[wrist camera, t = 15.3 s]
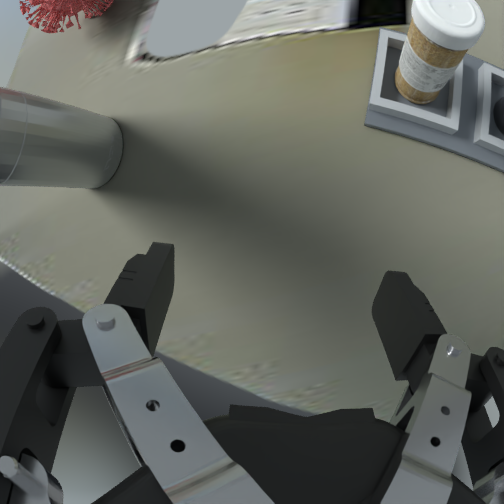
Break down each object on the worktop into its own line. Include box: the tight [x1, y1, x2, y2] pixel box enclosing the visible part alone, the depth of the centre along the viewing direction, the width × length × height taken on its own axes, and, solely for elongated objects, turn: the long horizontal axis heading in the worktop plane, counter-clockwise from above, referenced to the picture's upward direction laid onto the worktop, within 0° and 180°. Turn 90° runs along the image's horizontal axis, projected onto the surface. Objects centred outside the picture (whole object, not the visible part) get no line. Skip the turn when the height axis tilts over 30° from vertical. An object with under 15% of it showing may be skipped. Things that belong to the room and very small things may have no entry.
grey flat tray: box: [364, 27, 504, 173], centre depth 21 cm, size 19×11×5 cm, turn 76°
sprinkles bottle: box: [395, 0, 485, 104], centre depth 18 cm, size 5×4×13 cm
